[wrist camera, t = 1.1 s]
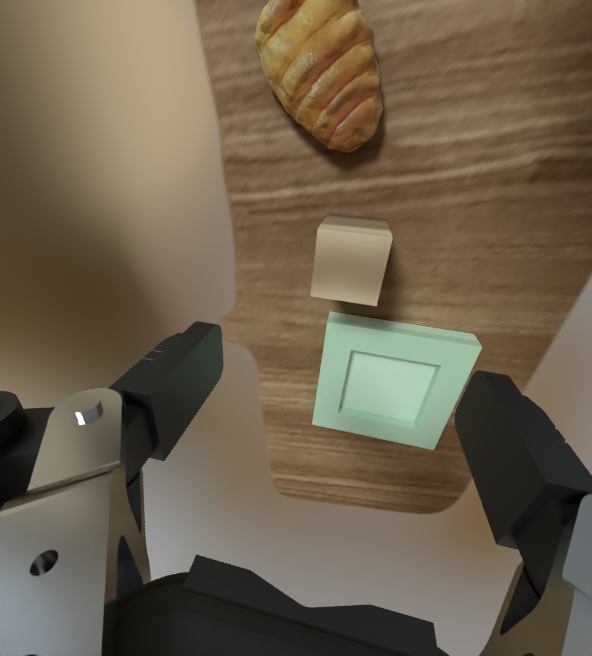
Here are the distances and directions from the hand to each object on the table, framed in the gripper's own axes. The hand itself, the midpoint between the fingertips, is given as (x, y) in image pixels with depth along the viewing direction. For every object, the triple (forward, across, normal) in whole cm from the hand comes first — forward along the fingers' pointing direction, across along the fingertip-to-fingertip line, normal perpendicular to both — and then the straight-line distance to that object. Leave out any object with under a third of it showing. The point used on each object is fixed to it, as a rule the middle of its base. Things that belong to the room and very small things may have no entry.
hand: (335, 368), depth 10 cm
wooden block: (+18, 0, 0) cm, 18 cm away
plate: (+18, -5, +13) cm, 23 cm away
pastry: (+18, +4, -11) cm, 22 cm away
